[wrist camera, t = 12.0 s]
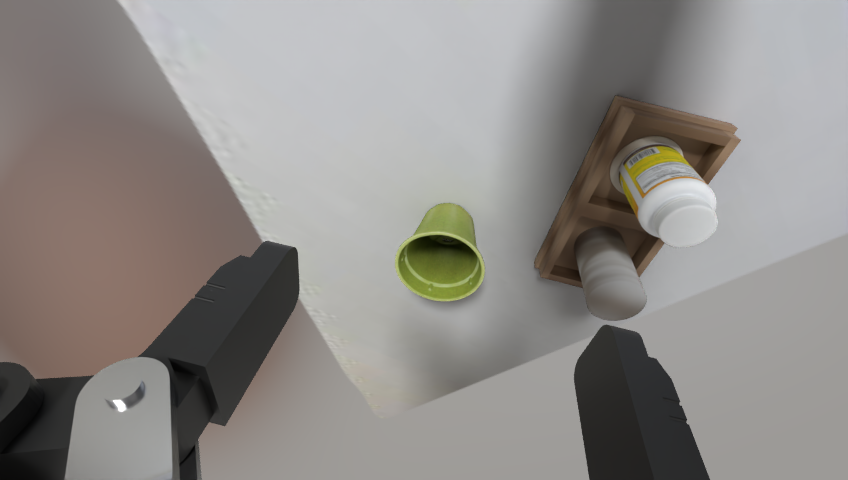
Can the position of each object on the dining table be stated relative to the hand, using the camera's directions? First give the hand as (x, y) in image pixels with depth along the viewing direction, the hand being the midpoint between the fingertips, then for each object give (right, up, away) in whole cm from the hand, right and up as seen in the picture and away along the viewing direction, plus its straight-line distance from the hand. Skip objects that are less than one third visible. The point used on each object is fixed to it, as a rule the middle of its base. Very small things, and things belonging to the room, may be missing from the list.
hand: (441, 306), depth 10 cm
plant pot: (+3, +4, +37) cm, 37 cm away
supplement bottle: (+21, +9, +27) cm, 36 cm away
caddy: (+20, +6, +31) cm, 38 cm away
